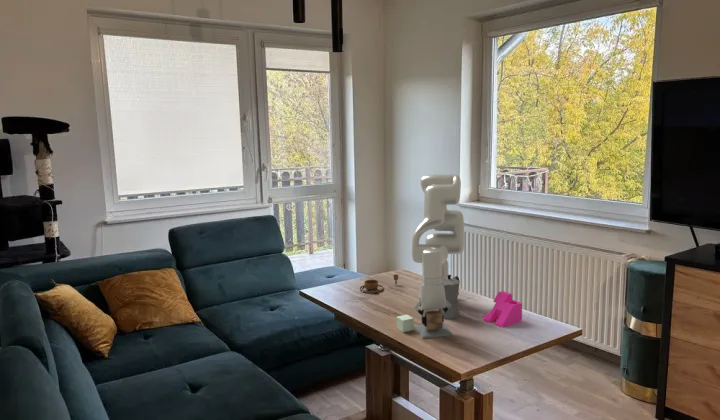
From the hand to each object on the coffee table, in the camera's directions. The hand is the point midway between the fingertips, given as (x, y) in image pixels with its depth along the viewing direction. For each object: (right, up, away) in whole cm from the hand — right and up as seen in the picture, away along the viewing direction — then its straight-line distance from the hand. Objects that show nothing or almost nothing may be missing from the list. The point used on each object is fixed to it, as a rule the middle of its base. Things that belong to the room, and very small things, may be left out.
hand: (432, 324), depth 207 cm
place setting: (-19, +4, +57) cm, 60 cm away
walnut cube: (0, -1, 0) cm, 1 cm away
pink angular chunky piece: (+30, -1, +9) cm, 32 cm away
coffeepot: (+10, 0, +18) cm, 21 cm away
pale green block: (-11, -3, +4) cm, 12 cm away
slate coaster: (0, -3, 0) cm, 3 cm away
